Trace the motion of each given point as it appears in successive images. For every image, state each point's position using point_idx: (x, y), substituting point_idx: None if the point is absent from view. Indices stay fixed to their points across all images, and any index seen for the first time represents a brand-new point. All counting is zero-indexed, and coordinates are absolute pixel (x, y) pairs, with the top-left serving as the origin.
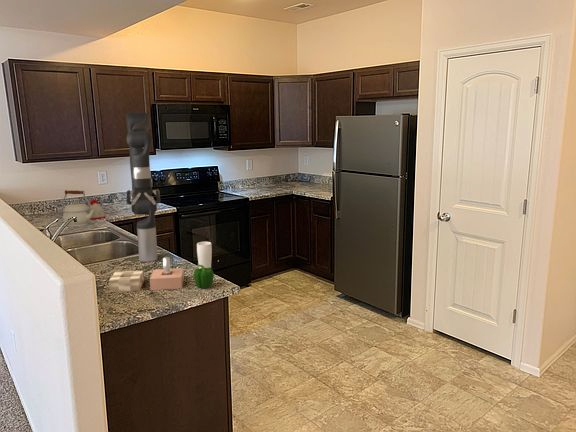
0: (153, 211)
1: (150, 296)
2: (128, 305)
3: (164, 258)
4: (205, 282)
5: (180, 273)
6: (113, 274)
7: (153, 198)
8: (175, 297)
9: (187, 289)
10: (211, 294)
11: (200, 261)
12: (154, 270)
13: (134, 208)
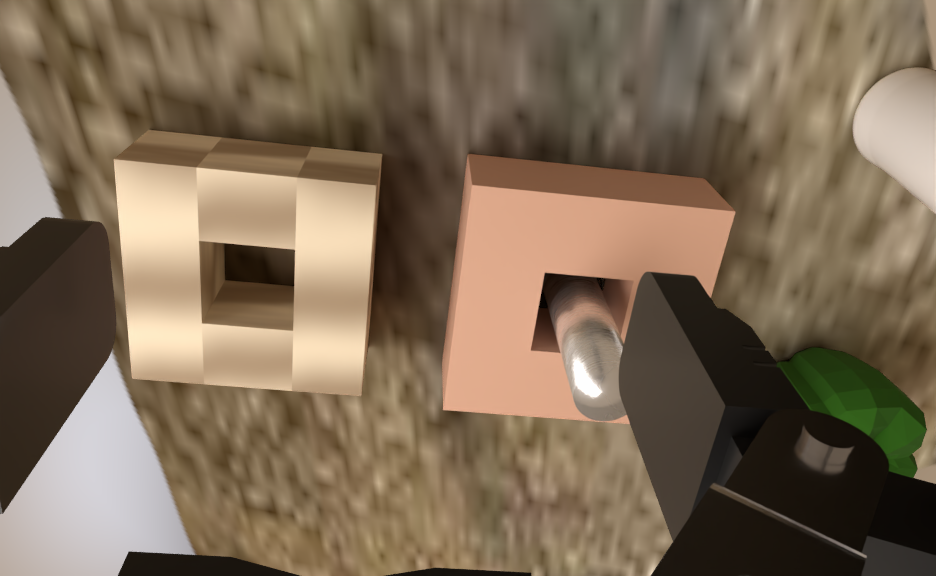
0: (632, 407)
1: (446, 458)
2: (331, 548)
3: (589, 408)
4: None
5: None
6: (122, 233)
7: (860, 567)
8: (591, 503)
9: None
10: None
11: (921, 201)
12: (478, 215)
13: (41, 437)
